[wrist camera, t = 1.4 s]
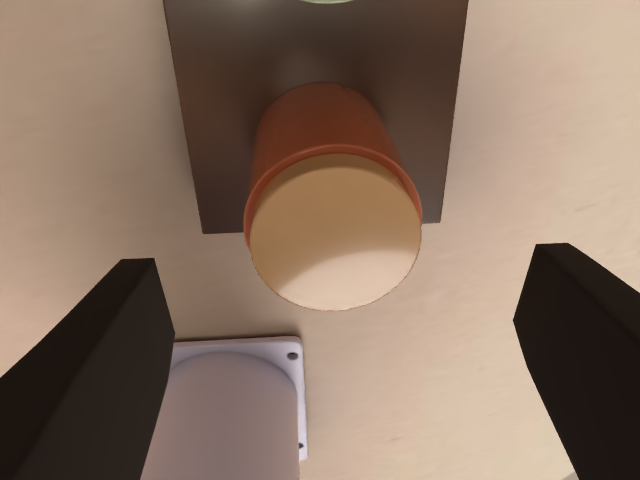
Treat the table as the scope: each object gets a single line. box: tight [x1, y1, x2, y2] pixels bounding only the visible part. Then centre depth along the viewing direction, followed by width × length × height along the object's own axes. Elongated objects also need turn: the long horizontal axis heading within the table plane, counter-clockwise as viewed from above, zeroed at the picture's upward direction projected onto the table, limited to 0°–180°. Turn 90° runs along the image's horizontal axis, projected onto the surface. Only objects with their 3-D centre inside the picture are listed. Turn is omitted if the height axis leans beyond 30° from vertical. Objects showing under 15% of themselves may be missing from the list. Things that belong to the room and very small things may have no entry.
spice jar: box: [243, 82, 422, 311], centre depth 15 cm, size 5×5×6 cm
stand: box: [163, 0, 469, 234], centre depth 16 cm, size 14×9×2 cm, turn 1°
